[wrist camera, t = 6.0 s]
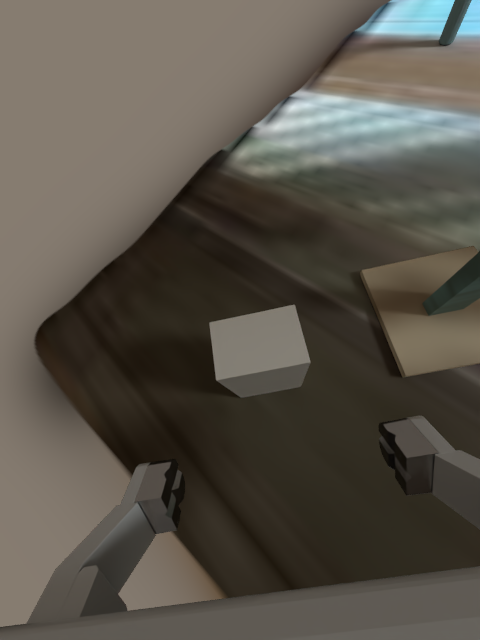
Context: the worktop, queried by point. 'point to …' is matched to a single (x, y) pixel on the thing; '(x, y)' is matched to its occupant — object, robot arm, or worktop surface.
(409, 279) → the tan base plate
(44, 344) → the worktop surface
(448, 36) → the hook
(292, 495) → the worktop surface
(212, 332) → the grey rectangular block
